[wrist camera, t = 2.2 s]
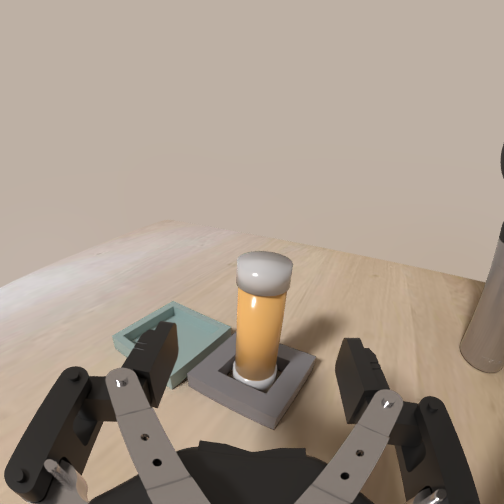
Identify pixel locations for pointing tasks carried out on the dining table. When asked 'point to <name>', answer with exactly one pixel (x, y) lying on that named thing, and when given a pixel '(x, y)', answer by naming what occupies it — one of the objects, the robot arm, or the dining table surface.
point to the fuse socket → (245, 397)
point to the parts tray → (189, 337)
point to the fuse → (260, 316)
